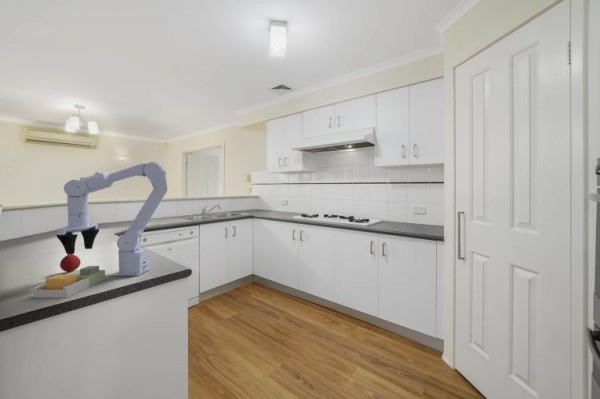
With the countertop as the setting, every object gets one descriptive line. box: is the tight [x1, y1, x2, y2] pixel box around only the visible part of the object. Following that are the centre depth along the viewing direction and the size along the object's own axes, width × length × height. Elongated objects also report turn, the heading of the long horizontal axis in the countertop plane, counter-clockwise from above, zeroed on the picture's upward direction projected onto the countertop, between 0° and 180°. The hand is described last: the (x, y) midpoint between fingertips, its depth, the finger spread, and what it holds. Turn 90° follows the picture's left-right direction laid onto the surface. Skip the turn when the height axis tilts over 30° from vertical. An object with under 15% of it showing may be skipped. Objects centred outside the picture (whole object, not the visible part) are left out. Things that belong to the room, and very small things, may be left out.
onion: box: [59, 254, 81, 273], centre depth 97 cm, size 6×6×8 cm
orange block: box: [44, 274, 77, 290], centre depth 79 cm, size 6×4×5 cm, turn 90°
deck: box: [32, 265, 106, 299], centre depth 82 cm, size 10×15×6 cm, turn 1°
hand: (79, 251), depth 91 cm, fingers open, 7 cm apart
